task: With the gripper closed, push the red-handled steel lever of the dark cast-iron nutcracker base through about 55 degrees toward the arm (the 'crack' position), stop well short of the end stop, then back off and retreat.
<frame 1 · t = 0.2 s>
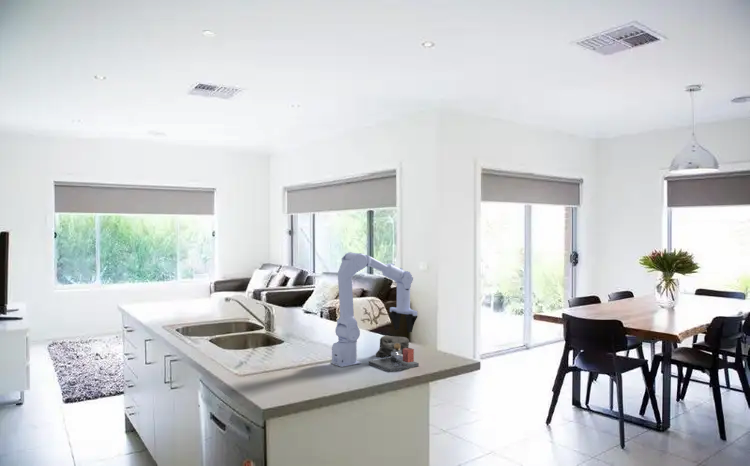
hand: (403, 330, 222), 10 cm above the counter, fingers open, 7 cm apart
lever: (401, 353, 205), point 4 cm above the counter, hinge at 0.0°
cracker base: (393, 365, 204), on the counter
stone: (393, 354, 223), on the counter
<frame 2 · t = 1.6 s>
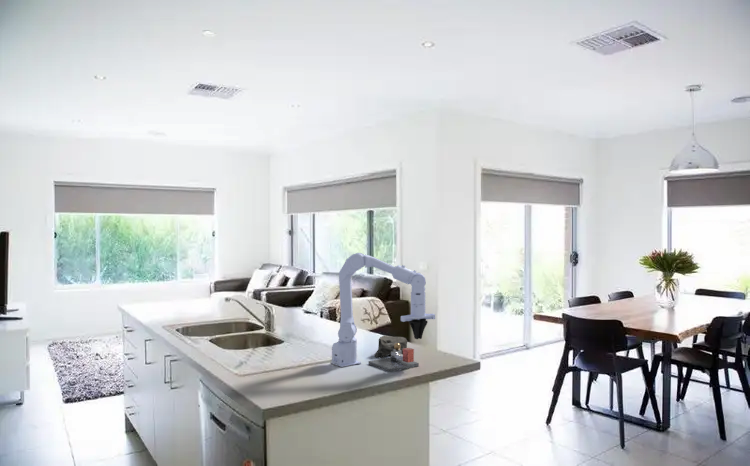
hand: (418, 338, 204), 10 cm above the counter, fingers closed
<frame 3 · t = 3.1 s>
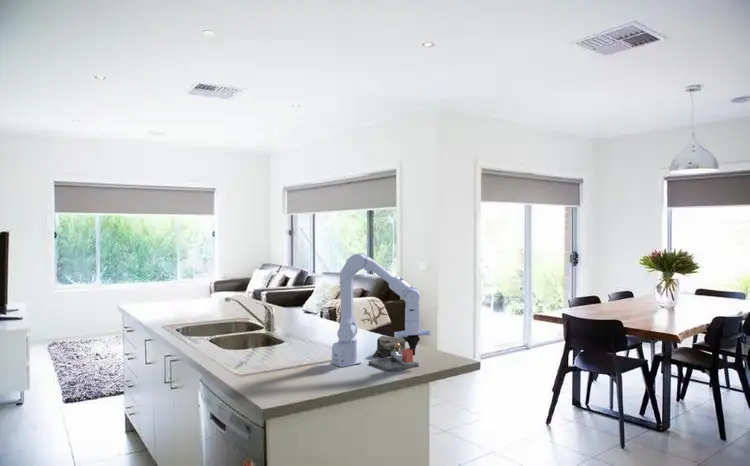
hand: (412, 354, 203), 4 cm above the counter, fingers closed, pressing on lever
lever: (400, 353, 205), point 4 cm above the counter, hinge at 2.7°, touching gripper
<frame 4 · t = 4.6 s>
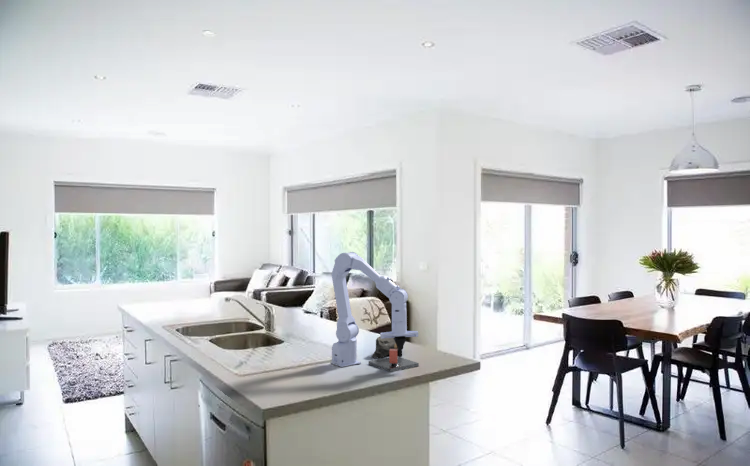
hand: (399, 356, 200), 5 cm above the counter, fingers closed, pressing on lever
lever: (394, 354, 204), point 4 cm above the counter, hinge at 41.2°, touching gripper
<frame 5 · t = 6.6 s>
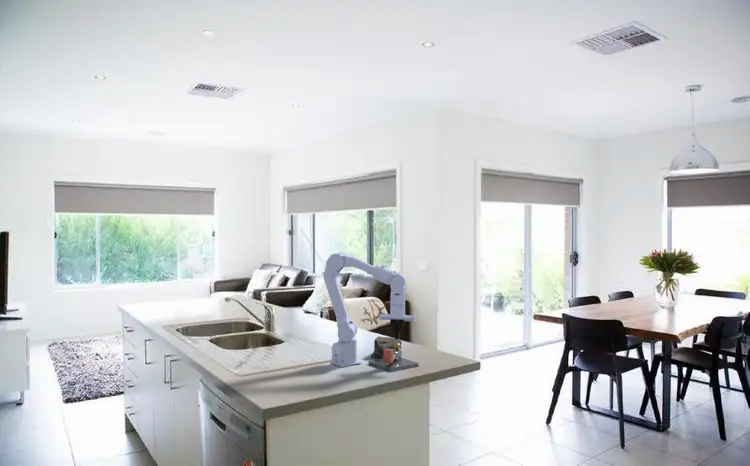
hand: (397, 338, 204), 10 cm above the counter, fingers closed
lever: (391, 354, 204), point 4 cm above the counter, hinge at 54.8°
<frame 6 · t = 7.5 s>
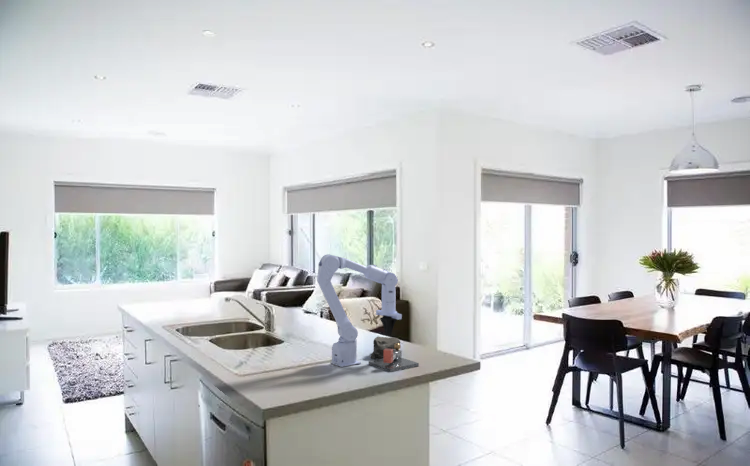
hand: (388, 334, 212), 10 cm above the counter, fingers closed
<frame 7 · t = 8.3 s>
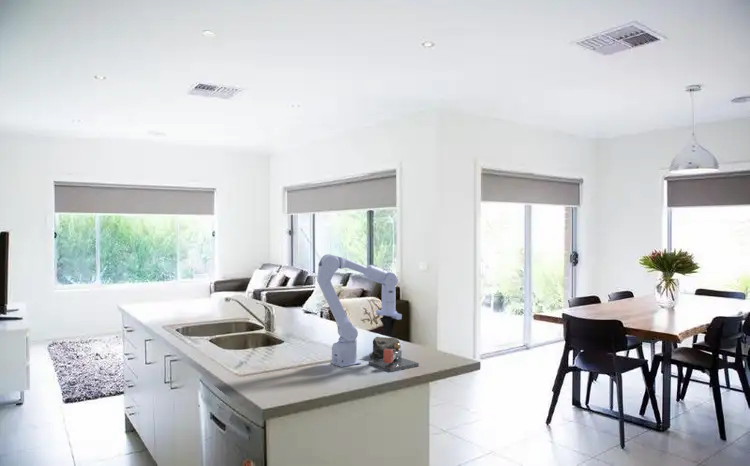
hand: (388, 334, 212), 10 cm above the counter, fingers closed
at the end: lever at +55° (first picture: +0°) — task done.
